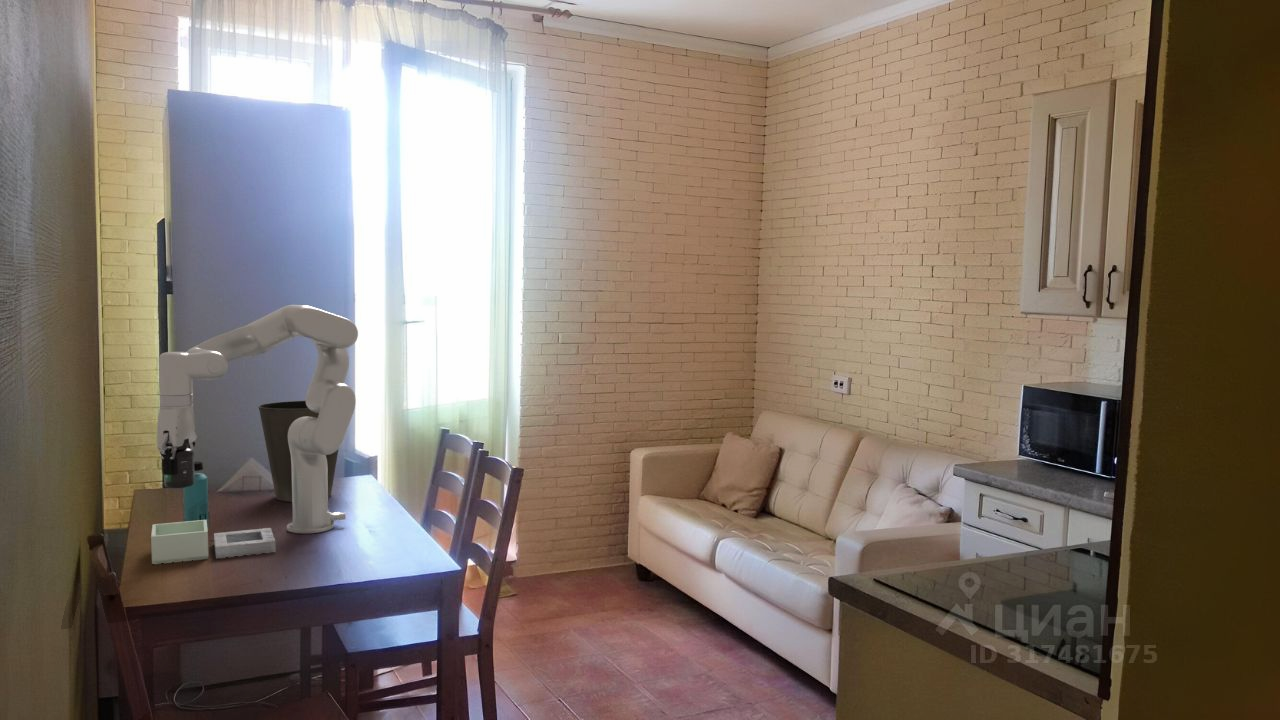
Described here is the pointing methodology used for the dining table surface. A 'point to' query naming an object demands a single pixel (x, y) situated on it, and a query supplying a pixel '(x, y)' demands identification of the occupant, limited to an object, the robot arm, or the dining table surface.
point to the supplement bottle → (182, 468)
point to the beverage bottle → (197, 497)
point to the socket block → (244, 542)
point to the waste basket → (286, 444)
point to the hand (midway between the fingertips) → (178, 470)
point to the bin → (179, 541)
